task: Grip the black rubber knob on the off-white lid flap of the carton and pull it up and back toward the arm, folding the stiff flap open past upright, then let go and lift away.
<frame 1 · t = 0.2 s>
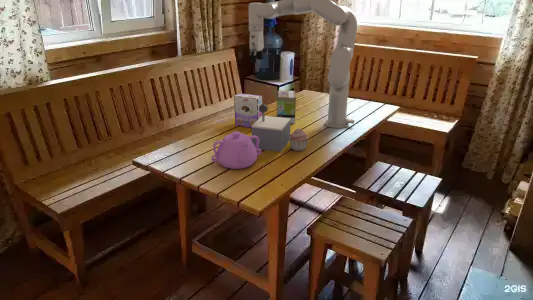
hand: (256, 61, 221), 31 cm above the table, tool pointing down, fingers open, 9 cm apart
tea box: (285, 119, 229), on the table
carton: (271, 143, 196), on the table
cupcake: (298, 149, 190), on the table
purple round pot: (238, 165, 174), on the table
lid flap: (271, 114, 190), point 15 cm above the table, hinge at 0.0°
candy box: (248, 126, 220), on the table
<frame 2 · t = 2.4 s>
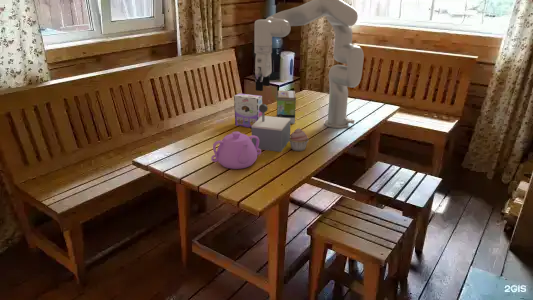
hand: (262, 88, 187), 27 cm above the table, tool pointing down, fingers open, 9 cm apart
nothing on the table moved.
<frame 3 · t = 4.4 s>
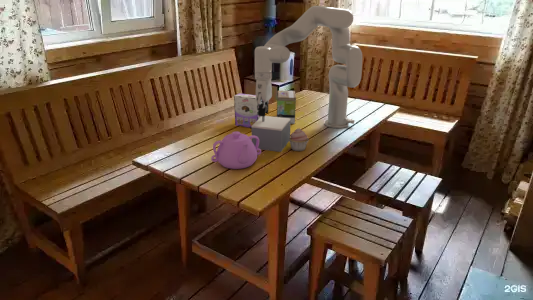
hand: (263, 114, 191), 14 cm above the table, tool pointing down, fingers closed on lid flap, 4 cm apart
lid flap: (271, 114, 190), point 15 cm above the table, hinge at 0.0°, touching gripper
everything else where it was.
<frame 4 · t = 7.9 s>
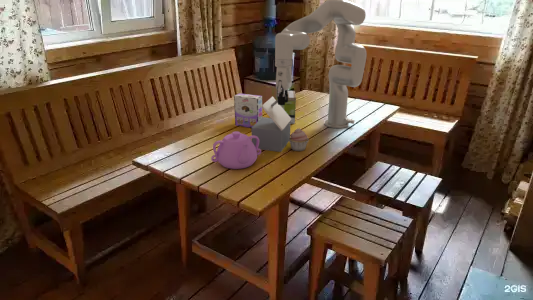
hand: (282, 103, 187), 20 cm above the table, tool pointing down, fingers closed on lid flap, 4 cm apart
lid flap: (283, 107, 187), point 18 cm above the table, hinge at 47.1°, touching gripper
everything else where it was.
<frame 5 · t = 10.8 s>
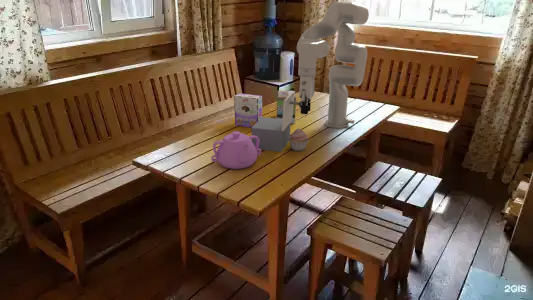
hand: (305, 111, 185), 17 cm above the table, tool pointing down, fingers closed on lid flap, 4 cm apart
lid flap: (297, 112, 186), point 17 cm above the table, hinge at 93.5°, touching gripper
everything else where it was.
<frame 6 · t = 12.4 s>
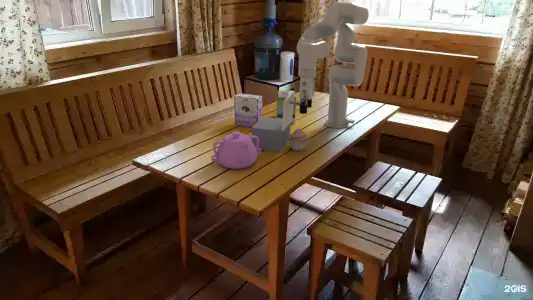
hand: (305, 110, 185), 18 cm above the table, tool pointing down, fingers open, 9 cm apart
lid flap: (297, 112, 186), point 17 cm above the table, hinge at 93.8°
everything else where it was.
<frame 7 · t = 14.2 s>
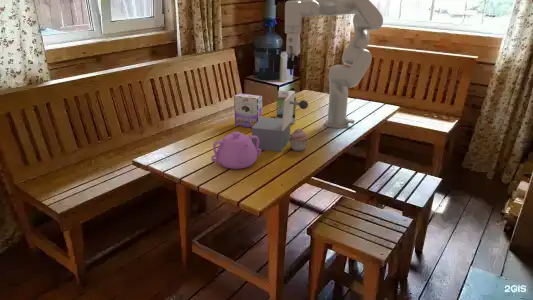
hand: (292, 67, 195), 34 cm above the table, tool pointing down, fingers open, 9 cm apart
nothing on the table moved.
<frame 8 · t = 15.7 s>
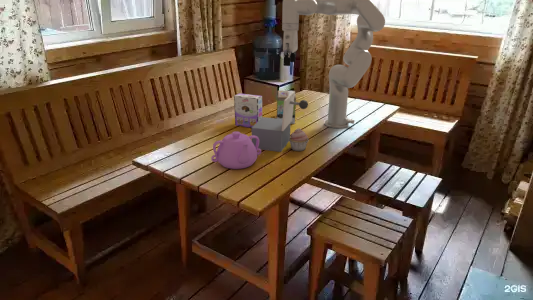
hand: (289, 63, 199), 34 cm above the table, tool pointing down, fingers open, 9 cm apart
nothing on the table moved.
at the end: lid flap at +94° (first picture: +0°); the gripper is holding nothing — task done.
